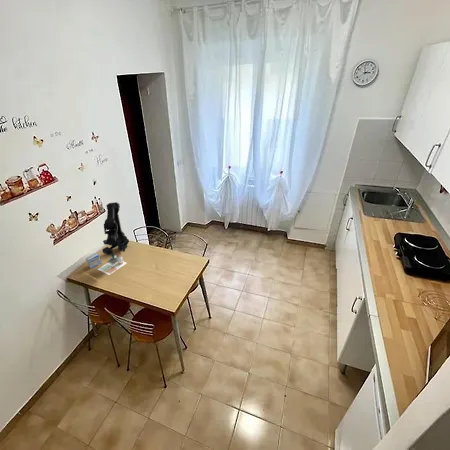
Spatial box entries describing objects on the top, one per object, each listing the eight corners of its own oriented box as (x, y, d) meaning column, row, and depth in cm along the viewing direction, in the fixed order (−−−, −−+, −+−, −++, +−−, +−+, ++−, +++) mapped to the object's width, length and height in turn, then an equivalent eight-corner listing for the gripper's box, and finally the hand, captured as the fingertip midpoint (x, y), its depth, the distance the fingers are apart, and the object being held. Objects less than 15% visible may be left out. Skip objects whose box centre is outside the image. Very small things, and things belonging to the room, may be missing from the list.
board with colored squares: (116, 257, 197) (115, 254, 196) (129, 263, 190) (128, 260, 189) (95, 270, 184) (94, 267, 182) (108, 277, 177) (108, 274, 176)
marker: (121, 261, 192) (118, 252, 188) (124, 262, 190) (122, 253, 186) (117, 263, 189) (114, 254, 185) (120, 265, 187) (118, 256, 183)
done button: (115, 257, 194) (114, 255, 193) (117, 258, 192) (117, 256, 191) (111, 259, 191) (111, 257, 190) (114, 260, 190) (113, 258, 189)
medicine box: (92, 269, 185) (88, 260, 180) (88, 267, 187) (85, 257, 183) (102, 264, 190) (99, 254, 186) (98, 261, 192) (95, 252, 188)
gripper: (117, 228, 189) (121, 245, 196) (94, 240, 175) (100, 258, 183) (127, 232, 184) (131, 249, 191) (105, 245, 170) (110, 263, 178)
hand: (118, 255), depth 186 cm, fingers open, 9 cm apart
